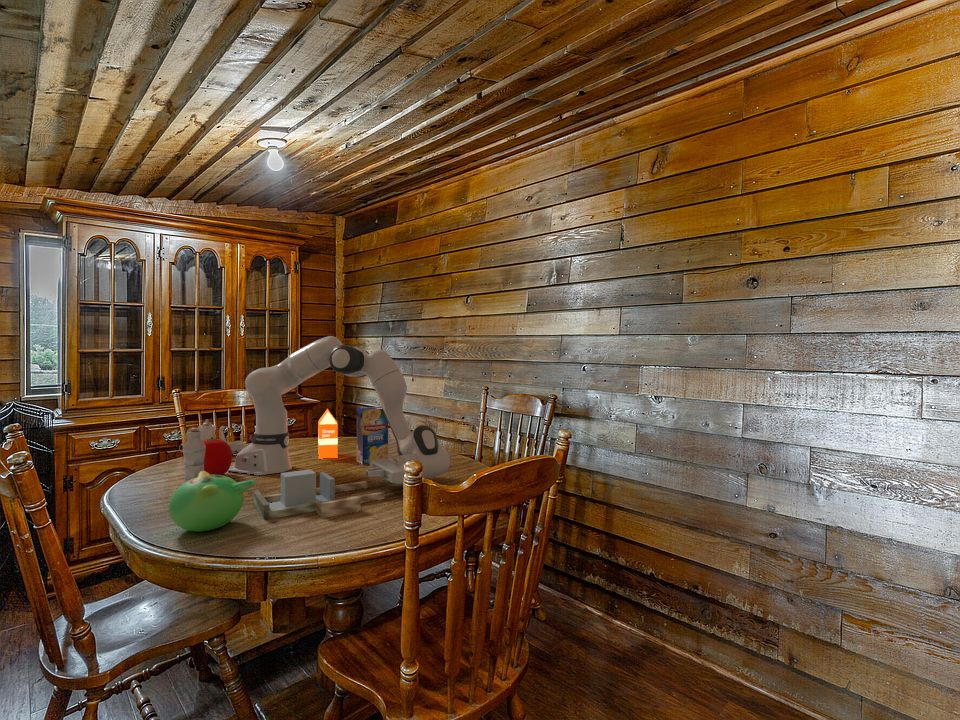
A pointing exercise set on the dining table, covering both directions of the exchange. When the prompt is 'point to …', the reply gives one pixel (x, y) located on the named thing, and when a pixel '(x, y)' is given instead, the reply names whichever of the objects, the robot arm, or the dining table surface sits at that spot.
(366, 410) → the blue food box
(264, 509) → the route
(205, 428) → the chinaware
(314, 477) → the bookend block
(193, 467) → the plastic bottle
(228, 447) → the tomato
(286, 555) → the dining table surface
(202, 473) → the toy bird
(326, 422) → the orange juice
